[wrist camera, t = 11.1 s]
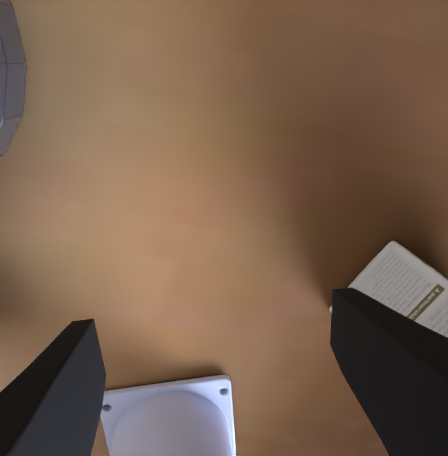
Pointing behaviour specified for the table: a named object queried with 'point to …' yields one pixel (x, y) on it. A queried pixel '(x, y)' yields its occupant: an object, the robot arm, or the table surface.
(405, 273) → the syrup box
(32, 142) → the table surface
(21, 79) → the bowl
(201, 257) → the table surface
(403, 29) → the table surface
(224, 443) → the robot arm
